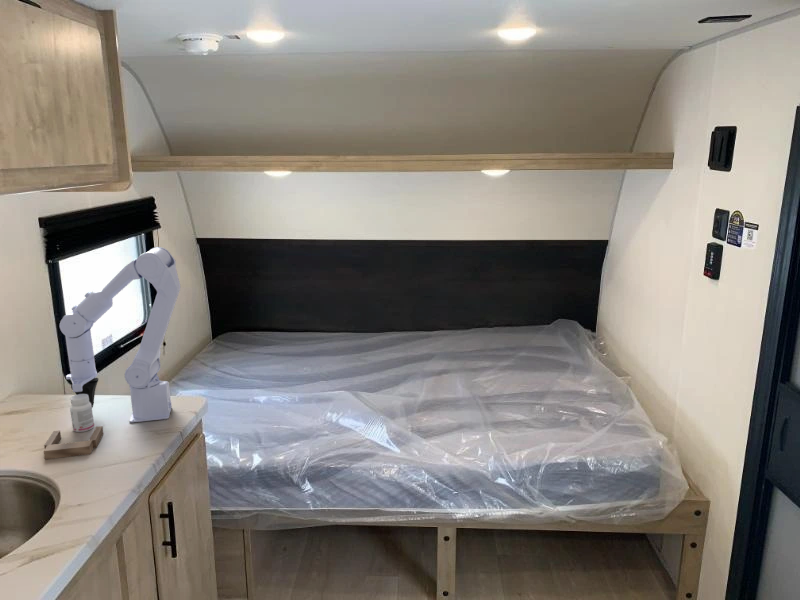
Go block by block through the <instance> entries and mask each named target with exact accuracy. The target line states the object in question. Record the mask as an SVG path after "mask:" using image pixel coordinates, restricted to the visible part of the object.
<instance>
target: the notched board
mask: <svg viewBox="0 0 800 600" xmlns="http://www.w3.org/2000/svg"><path fill="white" fill-rule="evenodd" d="M61 434H62V433H61V430H53V432H52V433H51V434H50V436H49V437H48V439H47V440H46V441H45V443H44V445H43V447H44V450H43V456H44V457H43V458H44V460H50V459H59V458H69V457H76V456H78V457H79V456H86V455H92V451H93V450H94V449H97V448H98V446H99V444H100V442H101V440H102V438H103V436H104V426H103V425H100V426H96V427H95V428H94V431H93V432H92V434H91V436H90V438H89V440H81V441H73V442H72V441H71V442H64V443H59V442H60V441H61V439H62V435H61Z"/></svg>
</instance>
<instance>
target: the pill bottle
mask: <svg viewBox="0 0 800 600" xmlns="http://www.w3.org/2000/svg"><path fill="white" fill-rule="evenodd" d="M70 403H71V405H70V406H69V412H70V416H71V417H70V419H71V425H72V430H73V431H74V432H77V433H83V432H87V431H90V430H92V429H93V428H94V427H95V421H94V414H93V407H92V405H91V403H90V402H89V396H88V395H87V394H78V395H76V394H75V395H72V396H71V397H70Z"/></svg>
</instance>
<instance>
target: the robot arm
mask: <svg viewBox="0 0 800 600" xmlns="http://www.w3.org/2000/svg"><path fill="white" fill-rule="evenodd" d="M142 278H143V279H145V280H146V281H147V282H149V283H150V284H152V286H153V288H154V289H155V291H156V295H155V299H154V302H153V305H152V307H151V310H150V314H149V316H148V320H147V323H146V325H145V326H146V327H145V329H144V332H143V336H142V339H141V342H140V345H139V347H138V350H137V351H136V353H135V355H134V357H133V360H132V363H131V364H130V365H129V366H128V367H127V368H126V370H125V372H124V380H125V382H126V383H127V384H128V386H129V395H130V400H131V403H130V404H131V409H132V410H131V411H132V413H131V415H130V418H129V420H128V422H129V423H137V422H138V423H139V422H149V421H150V422H151V421H157V420H168V419H169V418H170V415H171V411H172V408H173V405H172V399H171V390H170V382H169V381H167V380H161V379H160V377H159V376H158V372H159V371H160V369H161V360H160V359H161V353H162V352H161V349H162V345H163V342H164V339H165V337H166V333H167V331H168V330H167V329H168V327H169V325H170V322H171V318H172V315H173V312H174V309H175V305H176V303H177V299H178V297H179V293H180V291H181V283H180V278H179V275H178V271H177V262H176V259H175V258H174V256H173V255H172V254H171V252H170V251H169V250H168V249H166V248H165V247H161V246H156V247H152V248H150V249H149V250H148V251H147V252H143V253H141V254H140V255H139V256H138V257H137V258H135V259H134V260H132V261H130V262H128V263H127V264H126V265H125V266H124V267H123V268H122V269H121V270H120V271H118V272H117V274H116V275H115V276H114V277H113V278H112V279H111V280H110V281H109V282H108V283H107V285H105V286H104V287H103V288H102V289H95V290H94V289H93V290H92V292H91V291H88V292H86V293H85V294H84V297H85V298H84V299H83V300H82V301H81V302H80V303H79V304H77V305H73V307H72V308H71V310H72V312H70V313H68V314H65V315H63V316H62V319H61V320H60V321H59V322H60V323H59V329H60V331H61V333H62V334H63V335H64V336H65V342H66V343H65V345H66V350H67V356H68V357H67V358H68V365H69V371H70V373H69V374H67V375H65V379H66V380H70V381H71V383H72V384H71V386H70V388H71V390H72V392H73V393H75V395H78V394H87V395H88V396H89V402H90V403H91V405H92V408H94V403H95V394H96V389H97V385H98V382H99V378H98V377H97V376H98V371H97V369H96V362H95V361H96V359H95V354H94V347H93V346H94V345H93V339H92V333H91V332H92V331H91V329H92V328H93V326H94V324H95V323H96V322H97V321H98V320H99V319H100V318H101V317H102V316H104V314H106V313H107V312H108V311H109V310H110V309H111V308H112V307H113V305H114V304H113V303H114V302H113V299H114V298H115V297H116V296H117V295H118V294H119V293H120V292H121V291H123V290H124V289H125V288H126V287H127V286H128V285H129V284H130V283H131V282H132V281H134V280H141V279H142Z"/></svg>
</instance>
